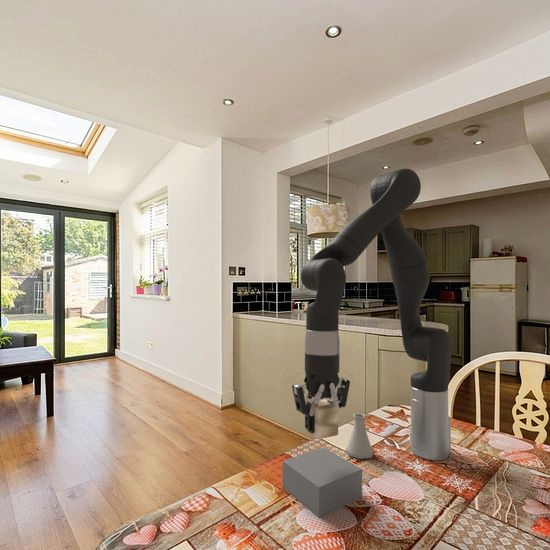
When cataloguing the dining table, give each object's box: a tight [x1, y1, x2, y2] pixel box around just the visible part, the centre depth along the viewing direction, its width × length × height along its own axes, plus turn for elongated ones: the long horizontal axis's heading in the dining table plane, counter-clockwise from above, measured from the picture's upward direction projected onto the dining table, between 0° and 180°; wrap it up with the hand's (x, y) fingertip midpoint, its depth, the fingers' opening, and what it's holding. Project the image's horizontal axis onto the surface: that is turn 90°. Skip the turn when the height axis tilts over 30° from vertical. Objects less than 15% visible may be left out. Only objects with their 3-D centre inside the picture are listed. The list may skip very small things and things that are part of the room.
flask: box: [345, 412, 375, 460], centre depth 92 cm, size 7×7×10 cm
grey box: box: [282, 446, 363, 518], centre depth 75 cm, size 12×12×6 cm
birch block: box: [305, 399, 339, 440], centre depth 75 cm, size 5×5×6 cm
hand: (321, 429), depth 75 cm, fingers closed on birch block, 5 cm apart
